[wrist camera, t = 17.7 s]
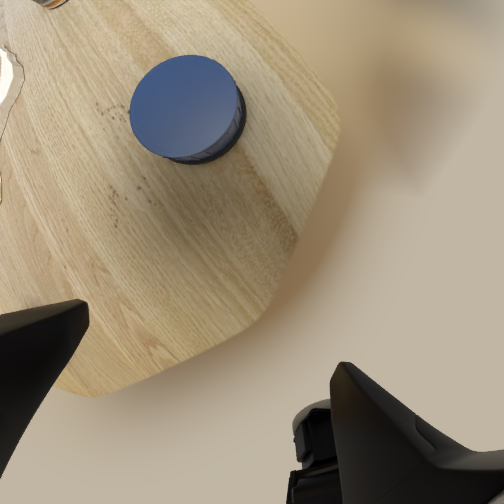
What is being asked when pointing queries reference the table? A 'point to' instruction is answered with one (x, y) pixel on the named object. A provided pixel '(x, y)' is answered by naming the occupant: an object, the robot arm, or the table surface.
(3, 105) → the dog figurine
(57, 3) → the pill bottle
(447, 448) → the robot arm
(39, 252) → the table surface
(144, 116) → the lid
